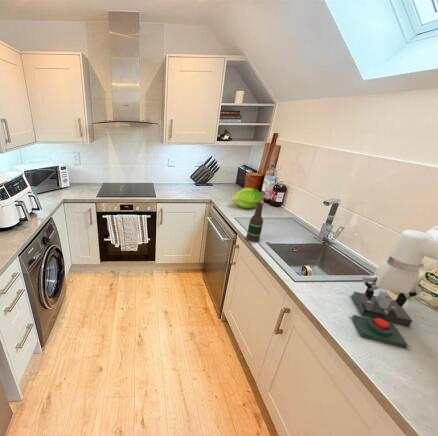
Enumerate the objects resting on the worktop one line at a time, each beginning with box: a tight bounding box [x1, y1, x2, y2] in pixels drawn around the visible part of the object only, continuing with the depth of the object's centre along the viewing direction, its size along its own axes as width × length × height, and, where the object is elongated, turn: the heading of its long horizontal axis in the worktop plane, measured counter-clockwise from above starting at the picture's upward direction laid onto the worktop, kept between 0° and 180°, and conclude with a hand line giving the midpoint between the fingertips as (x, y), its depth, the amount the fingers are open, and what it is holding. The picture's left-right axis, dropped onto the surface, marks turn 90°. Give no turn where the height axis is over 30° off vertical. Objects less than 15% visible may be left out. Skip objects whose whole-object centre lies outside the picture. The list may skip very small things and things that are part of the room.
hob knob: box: [376, 290, 393, 309], centre depth 91 cm, size 5×2×5 cm, turn 158°
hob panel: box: [351, 291, 413, 327], centre depth 93 cm, size 14×11×3 cm
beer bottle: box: [246, 202, 264, 243], centre depth 143 cm, size 8×8×24 cm
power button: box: [374, 318, 390, 330], centre depth 82 cm, size 4×4×2 cm
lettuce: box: [230, 187, 263, 209], centre depth 195 cm, size 19×25×17 cm
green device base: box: [351, 314, 409, 349], centre depth 83 cm, size 12×9×4 cm
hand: (382, 300), depth 91 cm, fingers open, 9 cm apart
